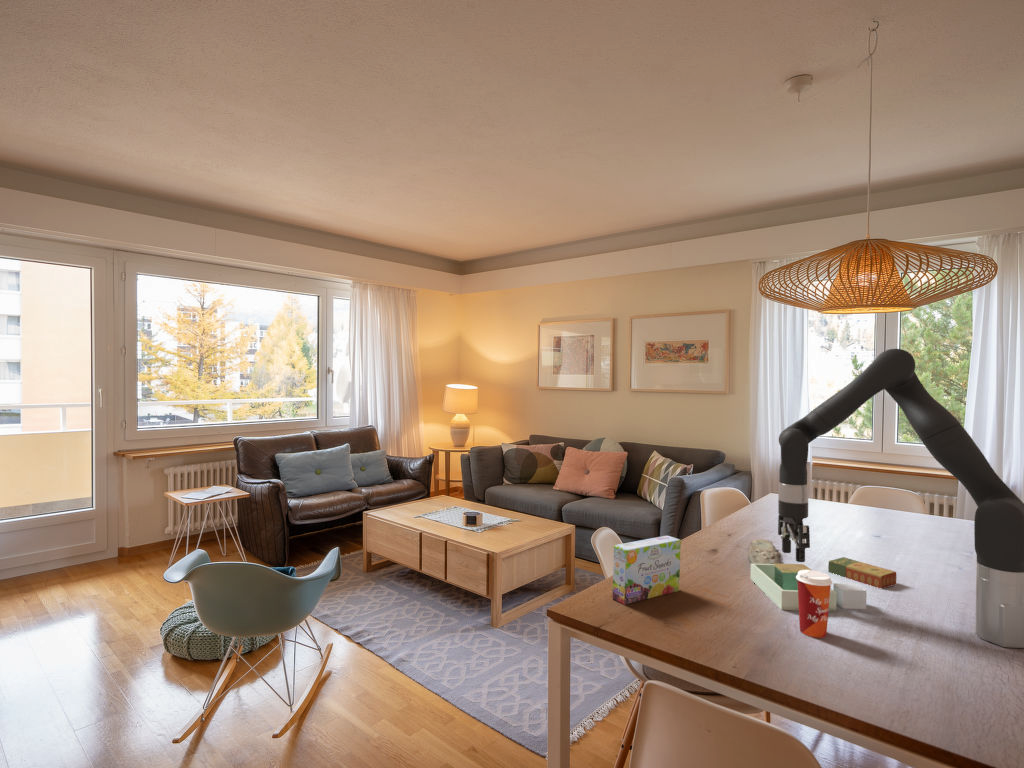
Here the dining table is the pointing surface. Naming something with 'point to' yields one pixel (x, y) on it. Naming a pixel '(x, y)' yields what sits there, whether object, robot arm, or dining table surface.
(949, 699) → the dining table surface
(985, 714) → the dining table surface
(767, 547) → the long grey stone
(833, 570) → the carton
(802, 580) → the paper cup
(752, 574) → the tote
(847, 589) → the white block
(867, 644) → the dining table surface
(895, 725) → the dining table surface
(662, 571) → the snack box
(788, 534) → the robot arm
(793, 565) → the tea tin
